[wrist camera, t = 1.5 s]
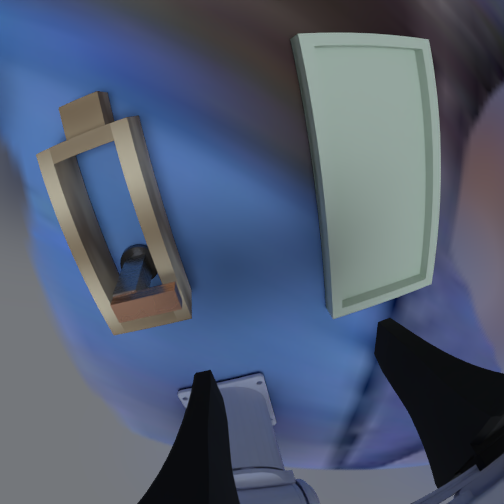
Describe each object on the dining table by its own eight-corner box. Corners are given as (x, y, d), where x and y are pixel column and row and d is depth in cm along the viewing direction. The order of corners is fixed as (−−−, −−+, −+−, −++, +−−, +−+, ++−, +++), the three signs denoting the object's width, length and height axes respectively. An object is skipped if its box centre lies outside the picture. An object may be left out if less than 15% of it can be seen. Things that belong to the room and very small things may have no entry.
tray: (421, 275, 25) (431, 283, 23) (326, 307, 24) (333, 319, 23) (415, 41, 15) (428, 39, 14) (290, 39, 15) (298, 33, 13)
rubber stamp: (186, 268, 20) (186, 319, 16) (129, 282, 20) (115, 334, 15) (175, 233, 19) (170, 278, 14) (116, 250, 19) (94, 296, 14)
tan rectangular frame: (191, 289, 21) (191, 318, 18) (121, 306, 21) (113, 335, 18) (131, 84, 15) (118, 79, 12) (51, 116, 14) (26, 120, 11)
